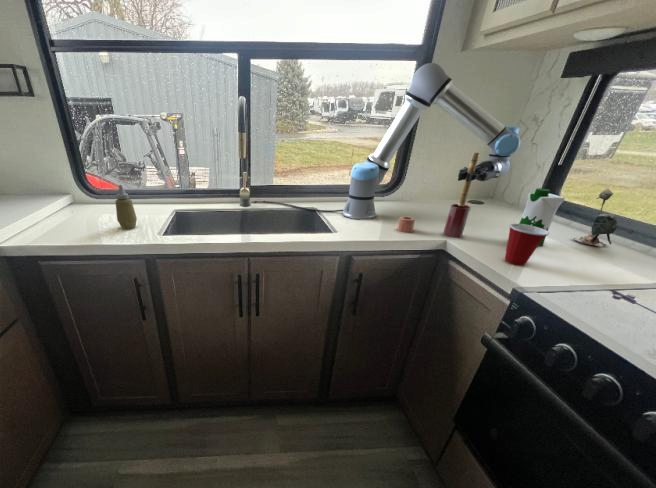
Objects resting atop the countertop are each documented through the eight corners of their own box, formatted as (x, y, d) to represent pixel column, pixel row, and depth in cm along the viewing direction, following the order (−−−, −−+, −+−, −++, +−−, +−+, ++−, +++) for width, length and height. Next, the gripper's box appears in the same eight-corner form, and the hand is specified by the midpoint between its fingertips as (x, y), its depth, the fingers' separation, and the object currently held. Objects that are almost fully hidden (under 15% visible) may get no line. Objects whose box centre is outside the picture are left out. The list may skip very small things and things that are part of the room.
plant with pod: (592, 249, 123) (621, 193, 113) (568, 239, 133) (593, 186, 123) (615, 249, 123) (646, 193, 113) (590, 239, 133) (617, 187, 123)
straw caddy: (396, 232, 141) (399, 219, 139) (397, 228, 146) (400, 215, 143) (412, 234, 139) (415, 220, 136) (412, 229, 144) (415, 217, 141)
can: (443, 237, 136) (451, 207, 130) (442, 232, 141) (450, 203, 135) (462, 239, 133) (471, 209, 127) (460, 234, 139) (469, 205, 133)
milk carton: (508, 239, 133) (527, 187, 123) (531, 239, 133) (552, 187, 123) (522, 246, 126) (545, 192, 116) (547, 246, 125) (571, 192, 116)
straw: (457, 206, 130) (473, 153, 121) (457, 204, 132) (472, 152, 123) (464, 206, 130) (480, 153, 120) (464, 205, 131) (479, 152, 122)
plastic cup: (542, 269, 108) (558, 233, 102) (504, 267, 109) (518, 231, 104) (525, 257, 117) (540, 223, 111) (491, 255, 119) (503, 221, 113)
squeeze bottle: (115, 228, 147) (105, 186, 138) (128, 223, 153) (121, 182, 144) (128, 231, 143) (119, 187, 135) (142, 226, 150) (134, 184, 141)
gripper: (505, 182, 133) (483, 191, 119) (464, 177, 143) (439, 185, 129) (512, 162, 129) (490, 168, 115) (469, 158, 139) (445, 164, 125)
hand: (463, 177), depth 122 cm, fingers closed on straw, 2 cm apart
